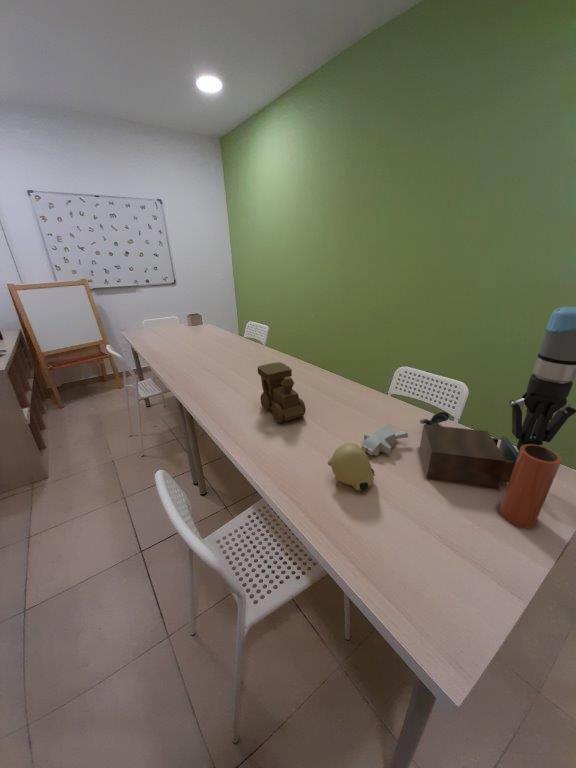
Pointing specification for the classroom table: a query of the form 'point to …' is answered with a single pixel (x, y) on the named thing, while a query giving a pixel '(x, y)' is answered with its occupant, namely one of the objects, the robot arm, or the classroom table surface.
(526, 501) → the pencil holder
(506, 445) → the drawer
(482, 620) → the classroom table surface
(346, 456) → the tan rounded lump
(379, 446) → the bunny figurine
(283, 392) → the wooden toy train
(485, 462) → the cabinet
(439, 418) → the eagle figurine
